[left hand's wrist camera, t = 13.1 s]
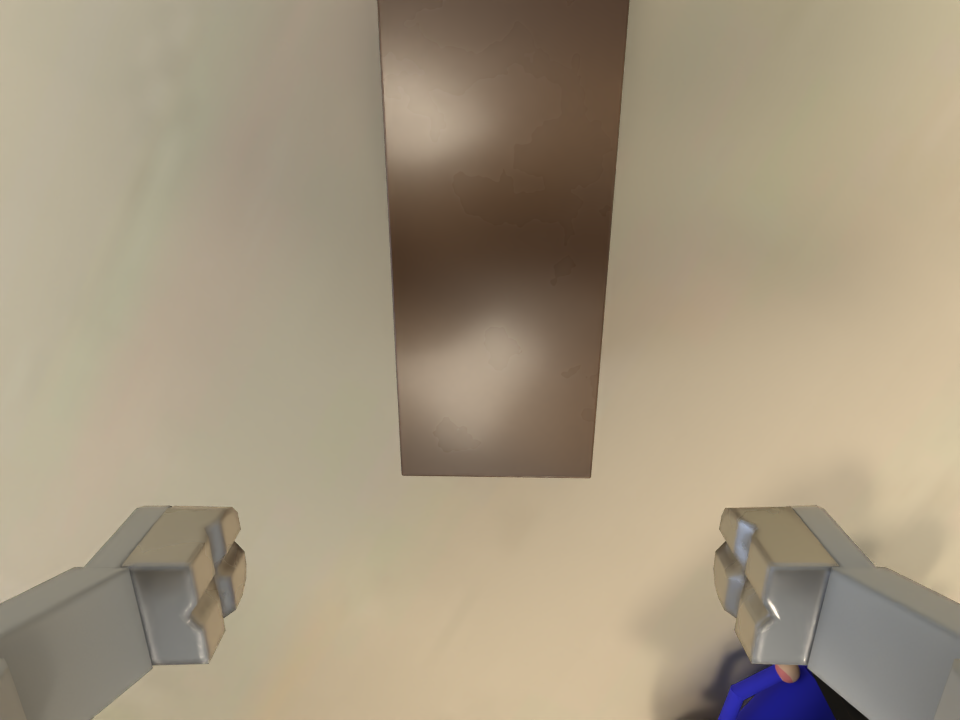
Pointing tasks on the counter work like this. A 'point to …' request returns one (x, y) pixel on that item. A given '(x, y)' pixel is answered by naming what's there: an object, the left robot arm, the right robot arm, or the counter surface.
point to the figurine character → (786, 697)
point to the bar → (500, 227)
